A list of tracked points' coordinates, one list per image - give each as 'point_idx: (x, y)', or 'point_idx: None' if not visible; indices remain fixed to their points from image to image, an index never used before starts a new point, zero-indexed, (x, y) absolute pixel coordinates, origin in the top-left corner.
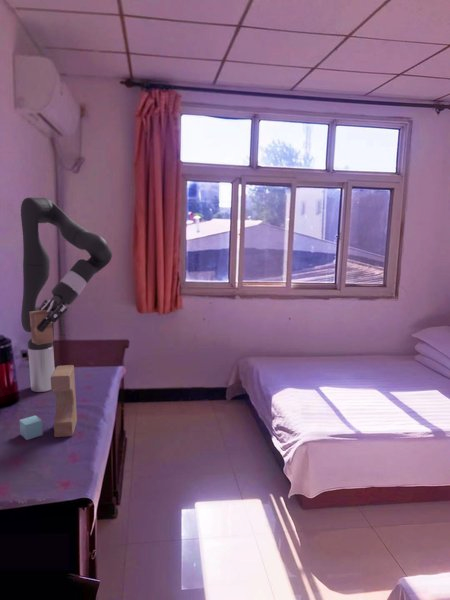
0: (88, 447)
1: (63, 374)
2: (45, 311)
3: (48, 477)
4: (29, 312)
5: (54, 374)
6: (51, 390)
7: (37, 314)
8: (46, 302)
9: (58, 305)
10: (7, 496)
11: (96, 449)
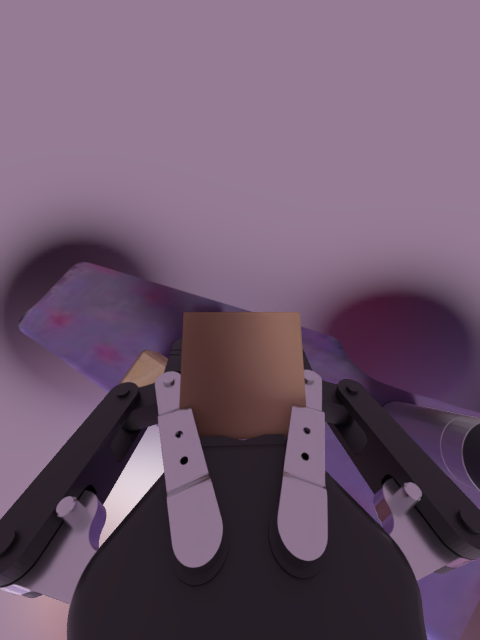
0: (117, 382)
1: (135, 381)
2: (218, 405)
3: (89, 310)
4: (296, 313)
5: (152, 363)
6: (157, 352)
7: (183, 328)
8: (429, 518)
9: (105, 541)
10: (89, 264)
11: (103, 388)
